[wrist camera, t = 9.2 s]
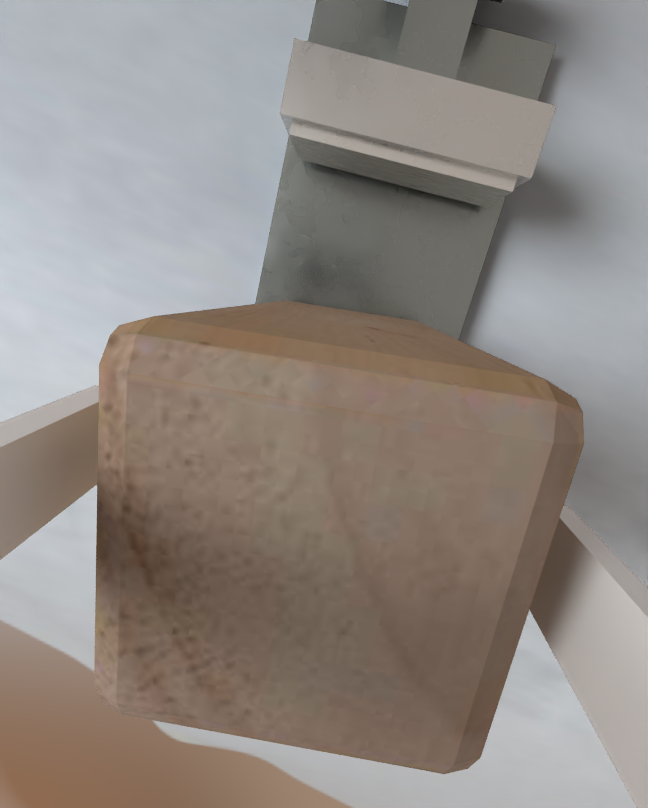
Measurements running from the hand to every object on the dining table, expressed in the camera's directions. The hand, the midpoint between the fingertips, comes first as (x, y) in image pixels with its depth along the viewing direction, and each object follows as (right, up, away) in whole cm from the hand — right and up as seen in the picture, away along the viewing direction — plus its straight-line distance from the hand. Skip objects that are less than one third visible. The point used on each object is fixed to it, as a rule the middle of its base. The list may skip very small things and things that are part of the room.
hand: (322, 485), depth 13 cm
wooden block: (+1, +4, +16) cm, 16 cm away
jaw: (+5, +20, +10) cm, 23 cm away
